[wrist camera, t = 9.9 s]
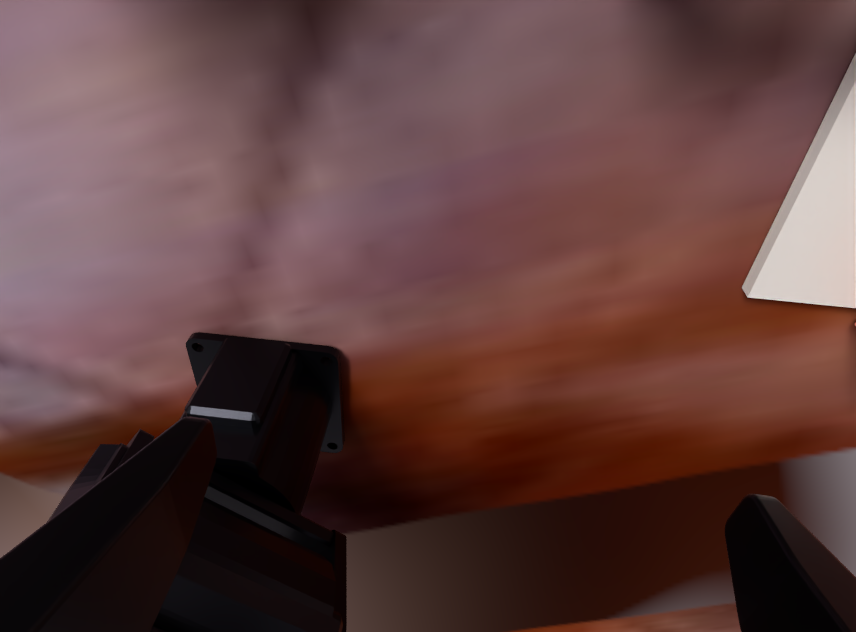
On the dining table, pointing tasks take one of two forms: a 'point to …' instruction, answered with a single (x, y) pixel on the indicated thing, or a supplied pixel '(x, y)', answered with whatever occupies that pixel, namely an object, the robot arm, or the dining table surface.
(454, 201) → the dining table surface
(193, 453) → the robot arm
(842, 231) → the tile
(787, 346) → the dining table surface
